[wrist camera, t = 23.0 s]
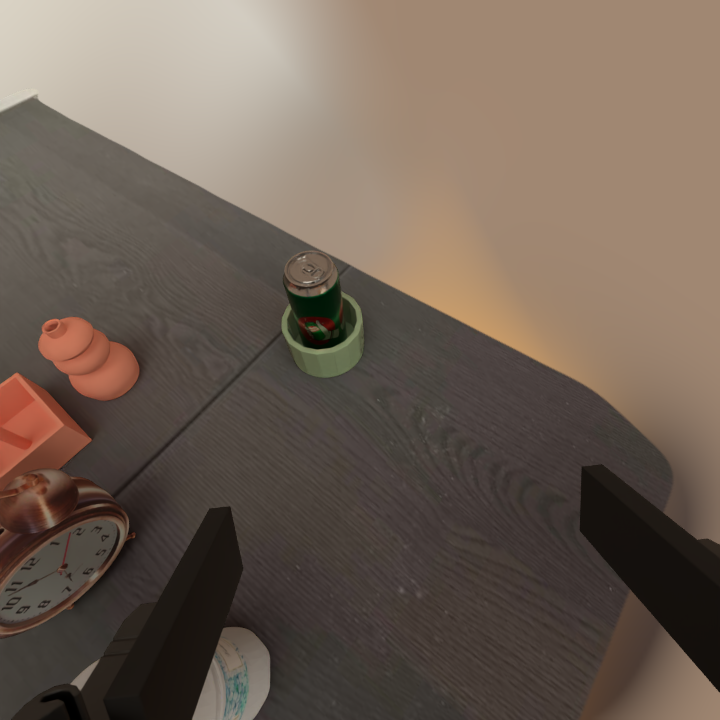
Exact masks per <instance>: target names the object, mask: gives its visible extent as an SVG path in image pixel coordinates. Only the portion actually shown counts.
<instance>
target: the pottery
mask: <svg viewBox="0 0 720 720" xmlns="http://www.w3.org/2000/svg"><path fill="white" fill-rule="evenodd" d="M42 331H43V333H42V335H41V337H40V339H39V344H38V346H39V350H40V352H41V353H42V355H43V356H44V357H45V358H47V359H48V360H52V361H53V363H54V365H55V366H56V367H57V368H58V370H60V371H62V372H64V373H66V374H69V379H70V382H71V384H72V386H73V387H74V388H75V389H76V390H77V391H78V392H79V393H81V394H82V395H84V396H86V397H90V398H93V399H96V400H101V401H107V400H112V399H115V398H118V397H120V396H122V395H123V394H125V393H126V392H127V391H129V390H130V389H131V388H132V386H133V385H134V384H135V382H136V381H137V378H138V376H139V365H138V363H137V360H136V358H135V356H134V355H133V353H132V352H131V351H130V350H129V349H128V348H127V347H125V346H124V345H122V344H120V343H116V342H112V341H109V340H108V339H107V337H106V336H105V335H104V334H103V333H102V332H100V331H98V330H96V329H93V327H92V325H91V324H90V323H89V322H87V321H85V320H83V319H81V318H78V317H69V318H64V319H61V320H58V319H51V320H49V321H47V322H46V323H45V324H44V325H43V326H42ZM91 441H92V439H91V438H90V437H89V436H88V435H87V434H86V433H85V432H84V431H83V430H82V429H81V428H80V426H79V425H78V424H77V423H76V422H75V421H74V420H73V419H72V418H71V417H70V416H69V415H68V413H67V412H66V411H65V410H64V409H63V408H62V407H61V406H60V405H59V404H58V403H57V402H56V400H55V399H54V398H53V397H52V396H51V395H50V394H49V393H48V392H47V391H46V390H45V389H43V388H41V387H40V386H38V385H37V384H35V383H33V382H32V381H30V380H29V379H27V378H25V377H24V376H22V375H20V374H19V373H15V374H14V375H13V376H11V377H10V378H8V379H7V380H6V381H4V382H3V383H2V384H0V491H3V490H4V489H5V487H6V486H7V485H8V484H9V483H10V482H11V481H12V480H14V479H15V478H16V477H18V476H20V475H22V474H24V473H26V472H28V471H32V470H36V469H42V468H52V469H57V470H59V469H60V468H61V467H62V466H63V465H64V464H65V463H67V462H68V461H69V460H70V459H71V458H72V457H74V456H75V455H76V454H77V453H78V452H79V451H80V450H82V449H83V448H84V447H85V446H86V445H87V444H88V443H90V442H91Z"/></svg>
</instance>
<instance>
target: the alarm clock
mask: <svg viewBox="0 0 720 720" xmlns="http://www.w3.org/2000/svg"><path fill="white" fill-rule="evenodd" d="M128 531H129V519H128V516H127V514H126V513H125V512H124V510H123V509H122V508H121V507H120V505H119V504H118V503H117V502H116V501H115V499H114V498H113V497H112V496H111V495H110V494H109V493H107V492H106V491H105V490H103V489H102V488H100V487H99V486H97V485H96V484H94V483H93V482H92V481H90V480H88V479H85V478H82V477H70V476H69V475H67V474H66V473H64V472H63V471H61V470H57V469H52V468H42V469H36V470H32V471H28V472H26V473H24V474H22V475H20V476H18V477H16V478H15V479H14V480H12V481H11V482H10V483H9V484H8V485H7V486H6V487H5V489H4V490H3V491H0V639H2V638H7V637H11V636H14V635H17V634H20V633H23V632H25V631H28V630H30V629H32V628H34V627H36V626H38V625H40V624H42V623H43V622H45V621H47V620H49V619H50V618H52V617H53V616H55V615H57V614H58V613H60V612H61V611H63V610H64V609H65V608H67V609H68V610H70V609H72V608H73V607H74V603H73V602H75V601H76V600H77V599H79V598H80V597H81V596H82V595H83V594H84V593H85V592H86V591H88V590H89V589H90V588H91V587H92V586H93V585H94V584H95V583H96V582H97V581H98V580H99V579H100V577H101V576H102V575H103V574H104V573H105V571H106V570H107V569H108V568H109V566H110V565H111V564H112V562H113V561H114V560H115V558H116V557H117V555H118V554H119V552H120V550H121V549H122V547H123V545H124V542H125V541H127V540H128V539H130V538H131V539H133V538H134V537H135V535H136V534H135V533H134V532H132V533H131V534H130V535H127V534H128Z"/></svg>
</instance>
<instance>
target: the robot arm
mask: <svg viewBox="0 0 720 720" xmlns="http://www.w3.org/2000/svg"><path fill="white" fill-rule="evenodd" d="M580 532H581V533H582V534H583V535H584V536H585V537H586V538H587V540H588V541H589V542H590V543H591V544H592V545H593V547H594V548H595V549H596V550H597V551H598V552H599V553H600V555H601V556H602V557H603V558H604V559H605V560H606V562H607V563H608V564H609V565H610V566H611V567H612V569H613V570H614V571H615V572H616V573H617V574H618V575H619V577H620V578H621V579H622V580H623V581H624V582H625V584H626V585H627V586H628V587H629V588H630V589H631V590H632V592H633V593H634V594H635V595H636V596H637V597H638V599H639V600H640V601H641V602H642V603H643V604H644V606H645V607H646V608H647V609H648V610H649V611H650V612H651V614H652V615H653V616H654V617H655V618H656V619H657V620H658V622H659V623H660V624H661V625H662V626H663V627H664V629H665V630H666V631H667V632H668V633H669V634H670V636H671V637H672V638H673V639H674V640H675V641H676V642H677V644H678V645H679V646H680V647H681V648H682V649H683V651H684V652H685V653H686V654H687V655H688V656H689V658H690V659H691V660H692V661H693V662H694V663H695V665H696V666H697V667H698V668H699V669H700V670H701V671H702V672H703V674H704V675H705V676H706V677H707V678H708V679H709V681H710V682H711V683H712V684H713V685H714V686H715V688H716V689H717V690H718V691H719V692H720V545H719V544H717V543H715V542H713V541H711V540H709V539H701V540H697V539H695V538H694V537H693V536H692V535H690V534H689V533H688V532H686V531H685V530H684V529H683V528H681V527H680V526H679V525H677V524H676V523H675V522H674V521H673V520H671V519H670V518H669V517H668V516H666V515H665V514H664V513H663V512H661V511H660V510H659V509H658V508H656V507H655V506H654V505H653V504H651V503H650V502H649V501H648V500H646V499H645V498H644V497H643V496H641V495H640V494H639V493H637V492H636V491H635V490H634V489H632V488H631V487H630V486H629V485H627V484H626V483H625V482H624V481H622V480H621V479H620V478H619V477H617V476H616V475H615V474H614V473H612V472H611V471H610V470H609V469H607V468H606V467H605V466H604V465H602V464H601V465H592V466H584V467H582V473H581V507H580ZM242 571H243V565H242V560H241V555H240V551H239V546H238V541H237V536H236V532H235V527H234V522H233V517H232V513H231V508H230V506H229V507H220V508H211V509H209V511H208V512H207V514H206V516H205V518H204V520H203V521H202V523H201V525H200V527H199V529H198V530H197V532H196V534H195V536H194V537H193V539H192V541H191V543H190V545H189V546H188V548H187V550H186V552H185V554H184V555H183V557H182V559H181V561H180V562H179V564H178V566H177V568H176V570H175V571H174V573H173V575H172V577H171V579H170V580H169V582H168V584H167V586H166V587H165V589H164V591H163V593H162V595H161V596H160V598H159V600H158V602H156V603H147V604H141V605H140V606H139V607H138V608H137V609H136V610H134V611H133V612H132V613H131V614H130V615H129V616H128V617H127V618H126V619H125V620H124V622H123V623H122V625H121V627H120V628H119V630H118V631H117V633H116V635H115V636H114V638H113V642H111V643H110V644H109V646H108V647H107V649H106V651H105V652H104V656H103V657H101V659H100V660H99V662H98V663H97V665H96V667H95V668H94V670H93V671H92V673H91V675H90V676H89V678H88V680H87V681H86V683H85V684H84V686H83V688H82V689H81V691H80V690H79V689H78V687H77V686H76V685H71V684H63V685H58V686H54V687H52V688H50V689H48V690H46V691H44V692H42V693H40V694H39V695H37V696H36V697H35V698H33V699H32V700H31V701H29V702H28V703H27V704H25V705H24V706H23V707H22V708H21V709H20V711H19V712H18V713H17V714H16V715H15V716H14V717H13V718H12V719H11V720H192V718H193V715H194V713H195V710H196V707H197V704H198V701H199V698H200V695H201V692H202V689H203V686H204V683H205V680H206V677H207V674H208V671H209V668H210V665H211V663H212V660H213V657H214V654H215V651H216V648H217V645H218V642H219V639H220V636H221V633H222V630H223V627H224V624H225V621H226V618H227V615H228V613H229V610H230V607H231V604H232V601H233V598H234V595H235V592H236V589H237V586H238V583H239V580H240V577H241V574H242Z"/></svg>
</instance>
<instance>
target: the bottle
mask: <svg viewBox="0 0 720 720" xmlns="http://www.w3.org/2000/svg"><path fill="white" fill-rule="evenodd" d="M99 660H100V659H99ZM99 660H98V661H96V662H95V663H93V664H92V665H90V666H89V667H88V668H86V669H85V670H84V671H83V672H82V673H81V674H80V675H79V676H78V677H77V678H76V679H75V680H74V681H73V682H72V683H71V685H76V686H77V687H78V689H79V690H80V691H81V689H82V688H83V686H84V684H85V683H86V681H87V680H88V678H89V676H90V675H91V673H92V671H93V670H94V668H95V667H96V665H97V663H98V662H99ZM269 689H270V655H269V652H268V650H267V648H266V647H265V645H264V644H263V643H262V642H261V641H260V639H259V638H258V637H257V636H256V635H255V634H254V633H253V632H252V631H250V630H248V629H245V628H241V627H227V628H223V630H222V633H221V636H220V639H219V642H218V645H217V648H216V651H215V654H214V657H213V660H212V663H211V665H210V668H209V671H208V674H207V677H206V680H205V683H204V686H203V689H202V692H201V695H200V698H199V701H198V704H197V707H196V710H195V713H194V715H193V718H192V720H253V719H254V718H255V716H256V715H257V713H258V712H259V710H260V708H261V707H262V705H263V703H264V702H265V700H266V698H267V695H268V692H269Z"/></svg>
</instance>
